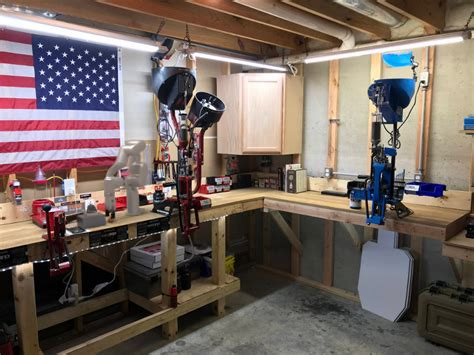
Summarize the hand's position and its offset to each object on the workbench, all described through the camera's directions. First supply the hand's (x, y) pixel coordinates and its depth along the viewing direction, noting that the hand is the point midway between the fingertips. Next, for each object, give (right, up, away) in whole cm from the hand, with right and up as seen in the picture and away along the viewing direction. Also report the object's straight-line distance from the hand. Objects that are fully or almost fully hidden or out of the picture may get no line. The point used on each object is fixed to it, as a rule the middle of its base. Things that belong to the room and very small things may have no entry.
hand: (110, 217), depth 283 cm
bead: (0, -3, +1) cm, 4 cm away
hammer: (-26, -4, +3) cm, 26 cm away
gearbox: (-10, -5, -9) cm, 15 cm away
